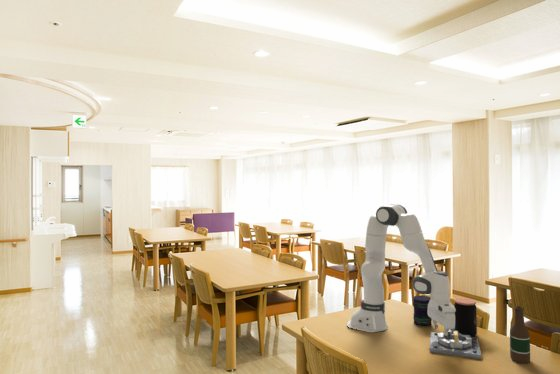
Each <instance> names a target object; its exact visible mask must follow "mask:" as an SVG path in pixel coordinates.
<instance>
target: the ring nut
mask: <svg viewBox="0 0 560 374" xmlns="http://www.w3.org/2000/svg"><path fill="white" fill-rule="evenodd" d="M436 333H437V339H438V343H440V344H442V345H445V346H447V347H450V348H460V349H462V348H467V347H471V346H472V339H471V337H470V335H463V334H460V333H458V331H455V328H454V329H449V332H448V336H445V335H444V334H443V332H436ZM450 333H453V339H454V340H451V339H450V341H448V340H446V338H450ZM458 339H460V340H458ZM462 340H463V342H462Z"/></svg>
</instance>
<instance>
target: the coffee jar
mask: <svg viewBox="0 0 560 374" xmlns="http://www.w3.org/2000/svg"><path fill="white" fill-rule="evenodd" d="M453 302H454V303H453V304H454V305H453V306H454V307H455V309H456V312H454V314H455V331H458V333H460V334H463V335H470V337H477V335H478V328H477V327H478V325H477V323H478V322H477V318H478V316H477V305H476V304H477V301H476V300H475V299H472V298H467V297H456V298H453Z"/></svg>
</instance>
